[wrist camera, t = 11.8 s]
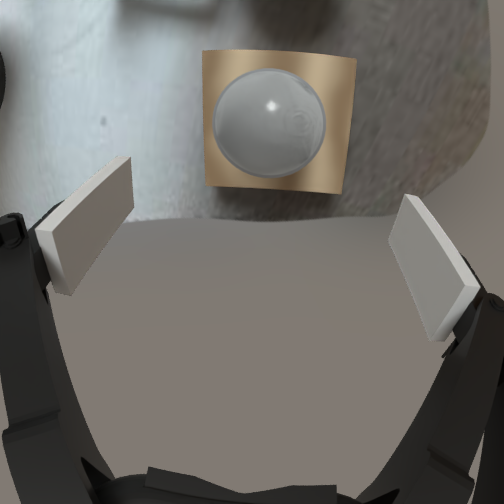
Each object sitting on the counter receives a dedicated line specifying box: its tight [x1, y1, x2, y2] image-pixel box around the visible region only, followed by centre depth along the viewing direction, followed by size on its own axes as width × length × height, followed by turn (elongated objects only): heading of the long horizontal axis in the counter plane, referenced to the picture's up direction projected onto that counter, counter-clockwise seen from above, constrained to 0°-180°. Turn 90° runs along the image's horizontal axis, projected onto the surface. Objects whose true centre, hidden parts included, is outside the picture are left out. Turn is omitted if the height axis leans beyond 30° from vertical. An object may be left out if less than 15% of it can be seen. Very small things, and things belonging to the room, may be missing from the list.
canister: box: [212, 68, 326, 178], centre depth 23 cm, size 7×7×9 cm
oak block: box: [202, 50, 357, 194], centre depth 30 cm, size 14×14×5 cm
